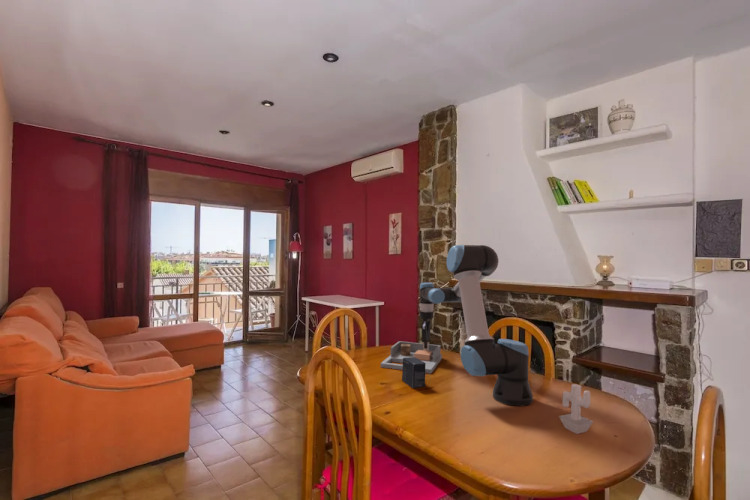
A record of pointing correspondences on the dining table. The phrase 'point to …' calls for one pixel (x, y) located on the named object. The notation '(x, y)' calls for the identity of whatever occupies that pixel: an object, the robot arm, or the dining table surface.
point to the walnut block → (405, 349)
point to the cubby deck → (414, 347)
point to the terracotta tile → (423, 355)
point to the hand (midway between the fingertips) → (426, 353)
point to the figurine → (576, 410)
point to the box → (413, 372)
